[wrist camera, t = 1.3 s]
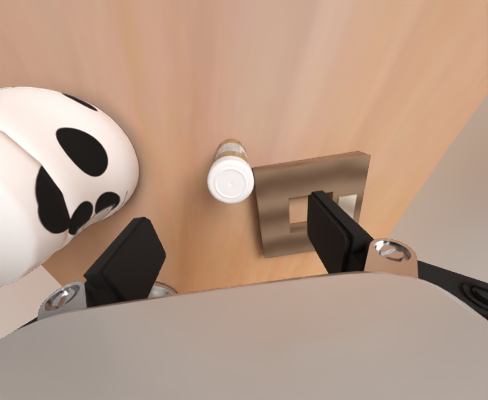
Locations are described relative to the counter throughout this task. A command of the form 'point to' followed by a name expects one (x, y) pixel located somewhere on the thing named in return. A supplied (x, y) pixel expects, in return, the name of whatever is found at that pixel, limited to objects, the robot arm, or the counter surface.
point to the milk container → (56, 174)
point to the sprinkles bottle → (230, 173)
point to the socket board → (302, 184)
